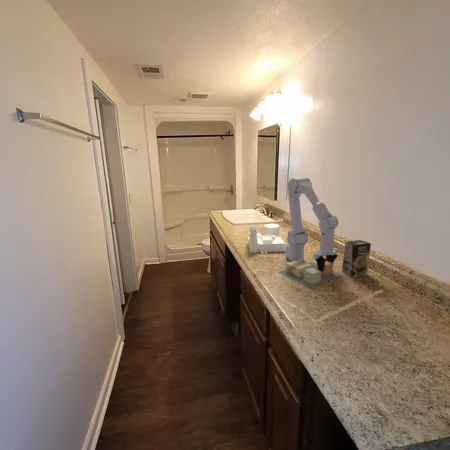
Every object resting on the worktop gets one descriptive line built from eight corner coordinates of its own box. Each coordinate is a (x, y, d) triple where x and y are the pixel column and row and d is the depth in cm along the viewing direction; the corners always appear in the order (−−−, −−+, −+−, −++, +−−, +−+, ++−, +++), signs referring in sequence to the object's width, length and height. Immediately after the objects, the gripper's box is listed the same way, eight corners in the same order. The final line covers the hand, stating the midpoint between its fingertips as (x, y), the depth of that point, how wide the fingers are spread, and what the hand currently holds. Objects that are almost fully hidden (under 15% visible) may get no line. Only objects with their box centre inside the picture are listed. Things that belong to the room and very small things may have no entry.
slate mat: (277, 273, 127) (277, 271, 127) (311, 263, 139) (311, 261, 138) (308, 289, 111) (308, 287, 111) (343, 276, 123) (343, 274, 122)
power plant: (291, 254, 153) (292, 229, 150) (250, 255, 153) (250, 230, 150) (279, 236, 187) (279, 216, 184) (245, 237, 187) (245, 217, 184)
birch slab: (286, 271, 128) (286, 263, 127) (298, 267, 132) (298, 259, 131) (298, 277, 121) (298, 269, 120) (310, 273, 125) (311, 265, 124)
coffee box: (351, 279, 120) (354, 245, 116) (341, 273, 126) (344, 241, 122) (367, 276, 122) (371, 243, 118) (357, 271, 128) (360, 239, 125)
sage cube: (303, 280, 118) (304, 269, 117) (311, 277, 120) (312, 267, 119) (312, 284, 114) (313, 273, 112) (320, 281, 116) (321, 271, 115)
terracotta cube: (316, 271, 126) (317, 261, 125) (323, 269, 129) (324, 259, 127) (325, 275, 122) (326, 265, 121) (332, 273, 125) (333, 263, 123)
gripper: (323, 247, 115) (321, 276, 118) (344, 241, 122) (342, 269, 125) (310, 243, 121) (308, 270, 124) (331, 237, 128) (329, 264, 131)
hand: (324, 269), depth 125 cm, fingers closed on terracotta cube, 5 cm apart
